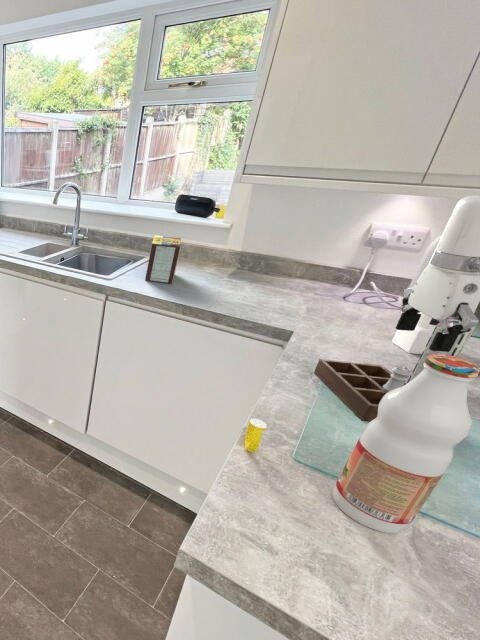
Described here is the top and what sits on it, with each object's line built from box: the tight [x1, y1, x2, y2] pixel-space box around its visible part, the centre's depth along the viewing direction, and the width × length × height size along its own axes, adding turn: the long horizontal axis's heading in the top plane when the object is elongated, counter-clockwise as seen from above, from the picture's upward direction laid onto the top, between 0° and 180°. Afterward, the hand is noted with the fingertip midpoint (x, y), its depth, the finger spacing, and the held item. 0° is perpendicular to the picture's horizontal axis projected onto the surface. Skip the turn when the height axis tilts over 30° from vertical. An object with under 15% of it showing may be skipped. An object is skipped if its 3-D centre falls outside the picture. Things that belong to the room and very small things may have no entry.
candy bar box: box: [406, 317, 478, 384], centre depth 98 cm, size 11×5×16 cm, turn 122°
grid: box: [313, 358, 407, 423], centre depth 94 cm, size 13×20×4 cm
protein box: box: [144, 234, 182, 285], centre depth 170 cm, size 10×15×16 cm
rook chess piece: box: [382, 364, 413, 391], centre depth 93 cm, size 4×4×8 cm
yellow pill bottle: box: [244, 418, 268, 453], centre depth 79 cm, size 6×3×6 cm, turn 150°
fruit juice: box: [332, 354, 480, 534], centre depth 61 cm, size 9×9×28 cm
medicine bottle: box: [391, 312, 440, 355], centre depth 115 cm, size 7×7×12 cm
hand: (420, 339), depth 88 cm, fingers open, 9 cm apart
